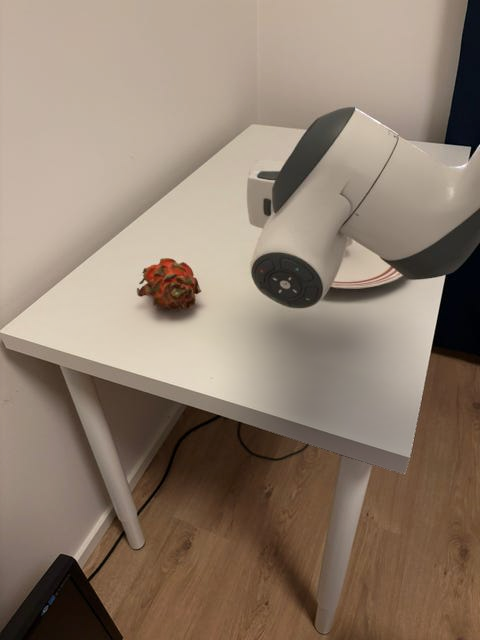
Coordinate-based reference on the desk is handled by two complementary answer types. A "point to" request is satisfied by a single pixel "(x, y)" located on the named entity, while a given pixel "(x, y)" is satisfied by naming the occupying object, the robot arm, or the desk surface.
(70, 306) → the desk surface
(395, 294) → the desk surface
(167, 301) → the dragon fruit
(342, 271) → the dinner plate
